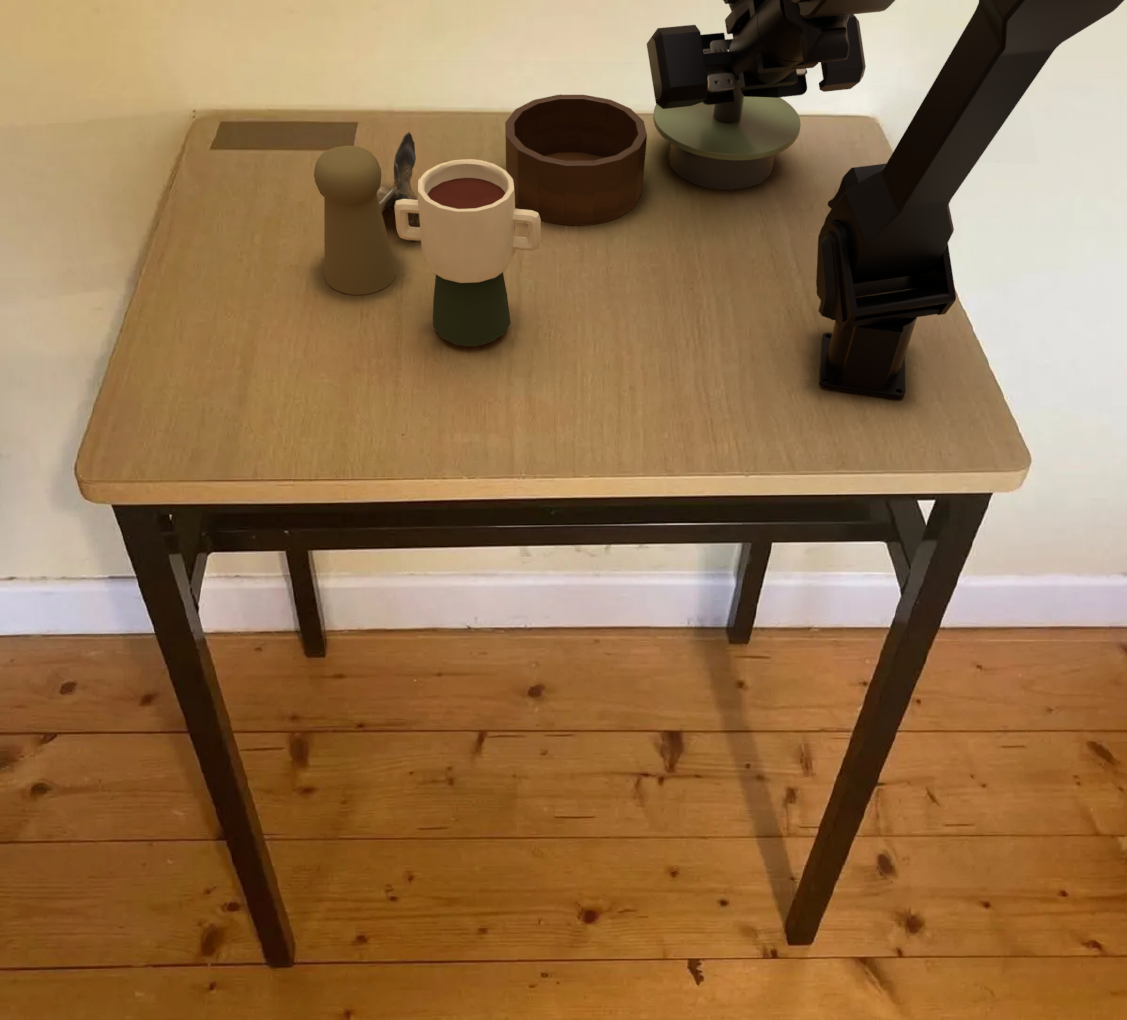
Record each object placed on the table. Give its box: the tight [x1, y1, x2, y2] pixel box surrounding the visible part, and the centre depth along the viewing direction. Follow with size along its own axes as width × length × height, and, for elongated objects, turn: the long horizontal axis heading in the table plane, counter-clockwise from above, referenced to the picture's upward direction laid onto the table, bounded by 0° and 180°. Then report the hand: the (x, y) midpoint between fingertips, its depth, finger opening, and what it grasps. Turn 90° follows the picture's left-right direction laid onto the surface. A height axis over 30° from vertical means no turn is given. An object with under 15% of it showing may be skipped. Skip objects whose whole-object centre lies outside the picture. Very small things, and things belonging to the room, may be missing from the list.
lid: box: [652, 81, 802, 160], centre depth 104 cm, size 14×14×6 cm
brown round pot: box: [504, 94, 648, 226], centre depth 102 cm, size 13×13×6 cm
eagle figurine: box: [377, 131, 420, 243], centre depth 98 cm, size 8×7×9 cm
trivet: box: [669, 143, 776, 190], centre depth 107 cm, size 10×10×4 cm
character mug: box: [394, 158, 542, 348], centre depth 85 cm, size 11×7×13 cm, turn 83°
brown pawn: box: [313, 145, 397, 296], centre depth 91 cm, size 6×6×11 cm
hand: (724, 91), depth 105 cm, fingers closed on lid, 3 cm apart
